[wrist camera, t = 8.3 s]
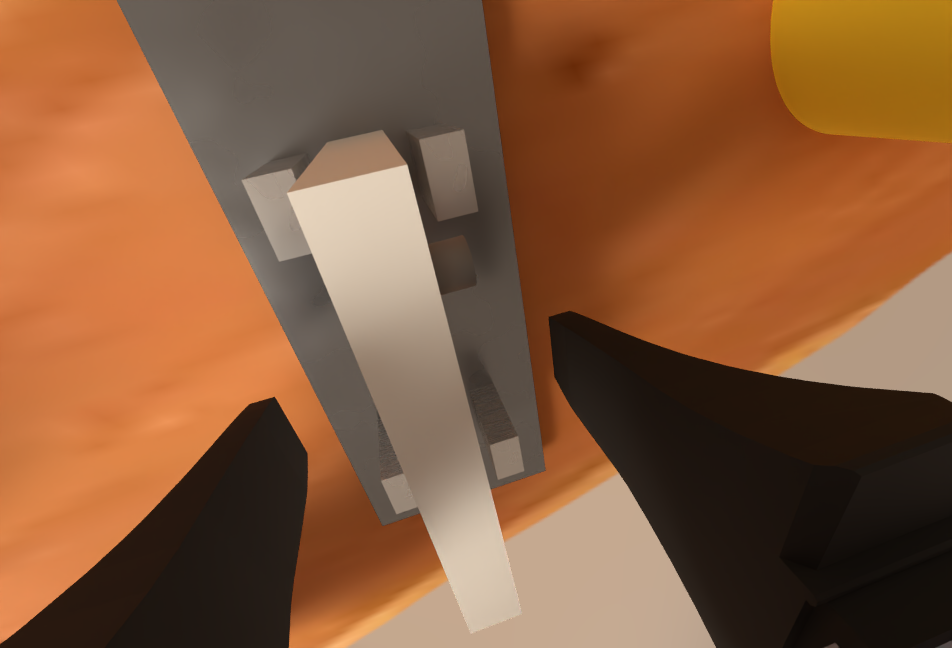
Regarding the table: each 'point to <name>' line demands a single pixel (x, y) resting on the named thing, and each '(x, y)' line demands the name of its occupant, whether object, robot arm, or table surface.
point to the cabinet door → (409, 352)
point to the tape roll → (866, 66)
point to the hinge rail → (341, 116)
